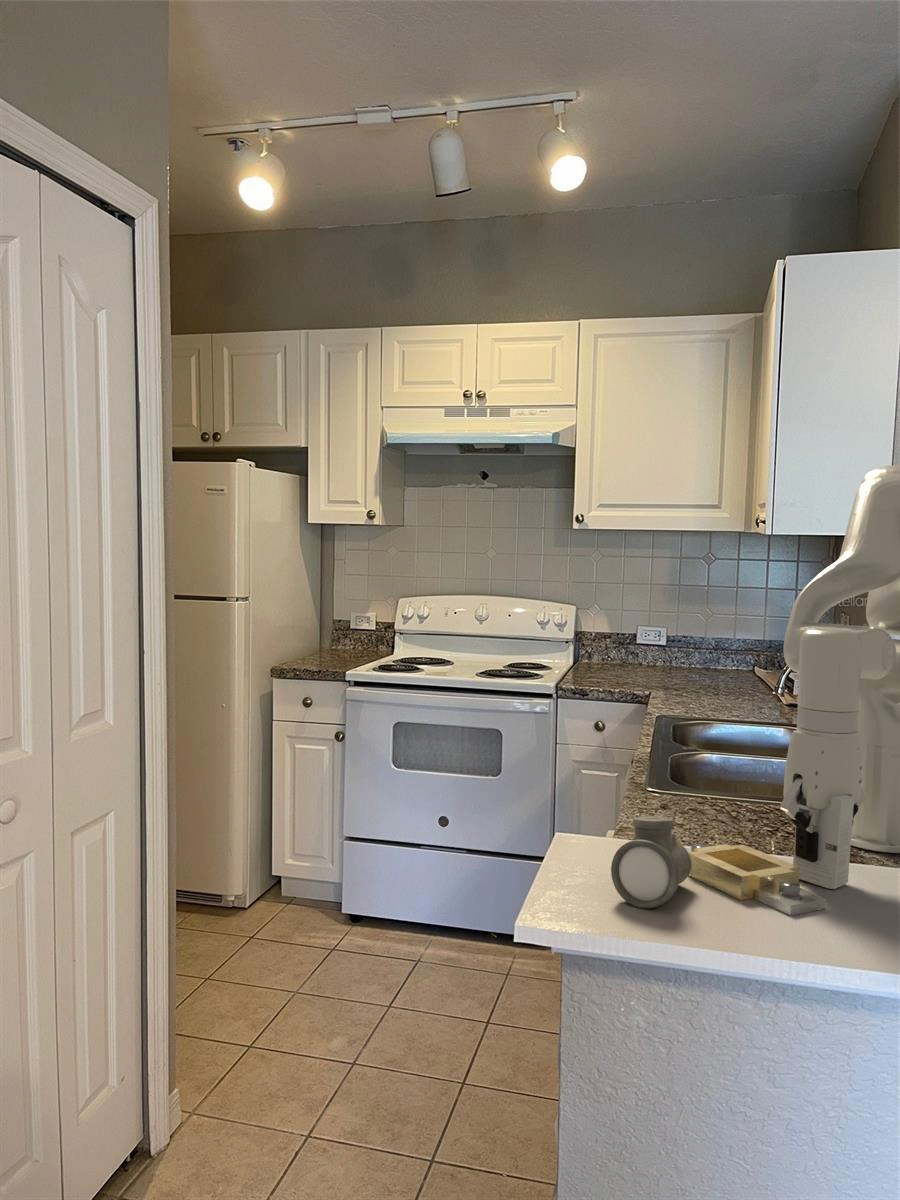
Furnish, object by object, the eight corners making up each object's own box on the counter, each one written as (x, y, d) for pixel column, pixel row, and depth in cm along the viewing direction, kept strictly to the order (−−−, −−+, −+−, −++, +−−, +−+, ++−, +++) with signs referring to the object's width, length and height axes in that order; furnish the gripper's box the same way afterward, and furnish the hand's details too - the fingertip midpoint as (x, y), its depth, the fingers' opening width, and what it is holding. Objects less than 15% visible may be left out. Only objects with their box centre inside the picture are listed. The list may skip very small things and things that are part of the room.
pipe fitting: (673, 914, 104) (672, 825, 105) (609, 904, 108) (609, 819, 109) (703, 896, 114) (703, 815, 115) (644, 888, 118) (644, 810, 119)
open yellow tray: (711, 852, 129) (712, 832, 129) (837, 906, 109) (838, 882, 109) (657, 860, 124) (658, 839, 124) (778, 917, 105) (779, 892, 105)
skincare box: (790, 877, 119) (794, 789, 118) (806, 870, 122) (810, 784, 121) (836, 891, 114) (840, 798, 114) (851, 883, 117) (855, 793, 117)
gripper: (848, 713, 124) (842, 840, 125) (758, 720, 117) (753, 855, 117) (895, 722, 117) (889, 857, 118) (803, 730, 110) (798, 874, 111)
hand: (821, 854), depth 118 cm, fingers closed on skincare box, 5 cm apart
